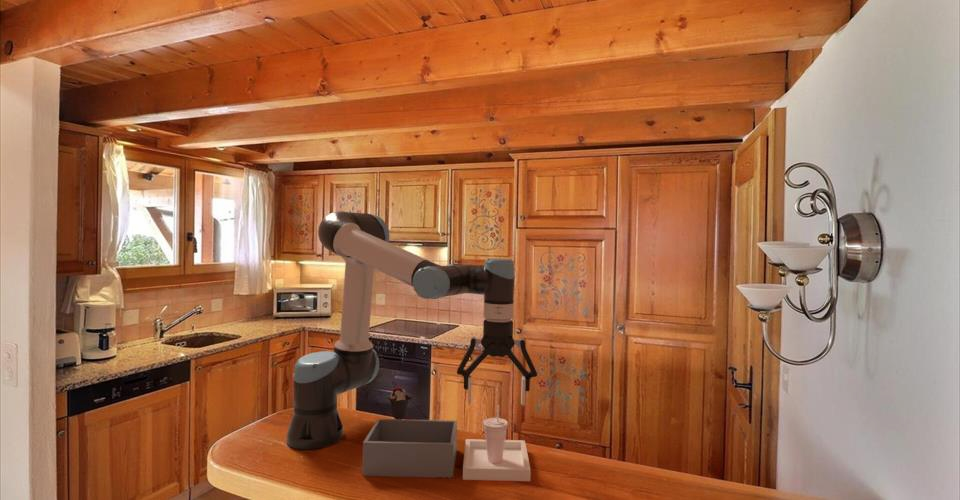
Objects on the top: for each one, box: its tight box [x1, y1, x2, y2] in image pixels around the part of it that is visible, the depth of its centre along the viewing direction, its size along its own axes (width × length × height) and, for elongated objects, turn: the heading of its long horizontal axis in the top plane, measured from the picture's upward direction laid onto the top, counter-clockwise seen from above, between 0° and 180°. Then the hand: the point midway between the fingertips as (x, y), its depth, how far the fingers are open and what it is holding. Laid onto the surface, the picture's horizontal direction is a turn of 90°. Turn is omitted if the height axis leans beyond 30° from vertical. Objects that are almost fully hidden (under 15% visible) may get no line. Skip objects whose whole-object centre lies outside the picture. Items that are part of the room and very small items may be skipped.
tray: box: [462, 438, 531, 482], centre depth 115 cm, size 16×16×3 cm
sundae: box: [387, 381, 412, 419], centre depth 134 cm, size 7×7×15 cm
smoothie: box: [482, 404, 509, 464], centre depth 115 cm, size 6×6×14 cm
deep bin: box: [362, 418, 458, 479], centre depth 115 cm, size 22×15×8 cm
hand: (496, 402), depth 115 cm, fingers open, 13 cm apart
